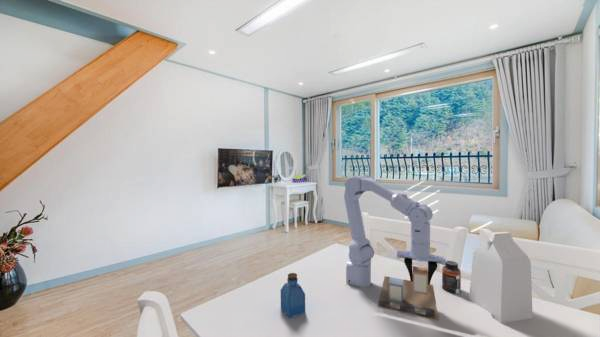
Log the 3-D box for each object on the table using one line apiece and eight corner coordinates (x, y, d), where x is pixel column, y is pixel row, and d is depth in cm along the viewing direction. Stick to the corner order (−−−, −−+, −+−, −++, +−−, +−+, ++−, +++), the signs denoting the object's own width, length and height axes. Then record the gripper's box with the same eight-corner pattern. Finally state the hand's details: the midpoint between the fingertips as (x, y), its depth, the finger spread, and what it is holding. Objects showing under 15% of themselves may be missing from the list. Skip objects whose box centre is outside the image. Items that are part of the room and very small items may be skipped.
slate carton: (389, 295, 89) (389, 277, 89) (403, 298, 87) (403, 279, 87) (388, 302, 85) (388, 283, 85) (402, 306, 83) (402, 285, 83)
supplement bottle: (463, 297, 90) (464, 266, 89) (445, 295, 91) (445, 265, 90) (456, 288, 95) (456, 259, 95) (439, 287, 97) (440, 258, 96)
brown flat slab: (377, 308, 83) (377, 300, 83) (384, 278, 104) (384, 271, 104) (438, 323, 76) (438, 313, 76) (432, 287, 97) (433, 279, 96)
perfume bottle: (288, 317, 79) (287, 281, 79) (280, 307, 85) (280, 273, 84) (305, 312, 82) (304, 276, 82) (296, 302, 88) (296, 269, 87)
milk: (497, 297, 89) (499, 226, 88) (532, 318, 78) (535, 236, 77) (468, 301, 87) (470, 228, 86) (500, 323, 76) (502, 239, 74)
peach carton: (412, 285, 86) (412, 265, 85) (427, 288, 84) (427, 268, 84) (412, 292, 82) (412, 271, 81) (427, 295, 80) (428, 274, 79)
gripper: (396, 242, 82) (396, 282, 82) (446, 249, 76) (446, 292, 76) (397, 236, 88) (397, 273, 89) (444, 241, 82) (443, 281, 83)
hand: (420, 281), depth 83 cm, fingers closed on peach carton, 4 cm apart
